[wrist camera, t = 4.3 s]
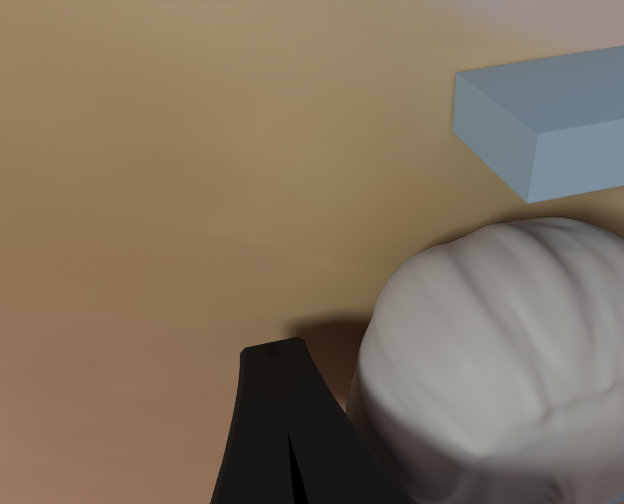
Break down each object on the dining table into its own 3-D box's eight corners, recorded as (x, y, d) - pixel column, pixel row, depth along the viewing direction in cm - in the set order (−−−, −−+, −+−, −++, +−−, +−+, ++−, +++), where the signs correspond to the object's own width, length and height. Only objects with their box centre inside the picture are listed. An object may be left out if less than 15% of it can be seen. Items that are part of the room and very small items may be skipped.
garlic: (420, 419, 14) (526, 660, 10) (261, 328, 11) (312, 614, 7) (626, 263, 12) (865, 477, 8) (499, 107, 9) (768, 311, 5)
